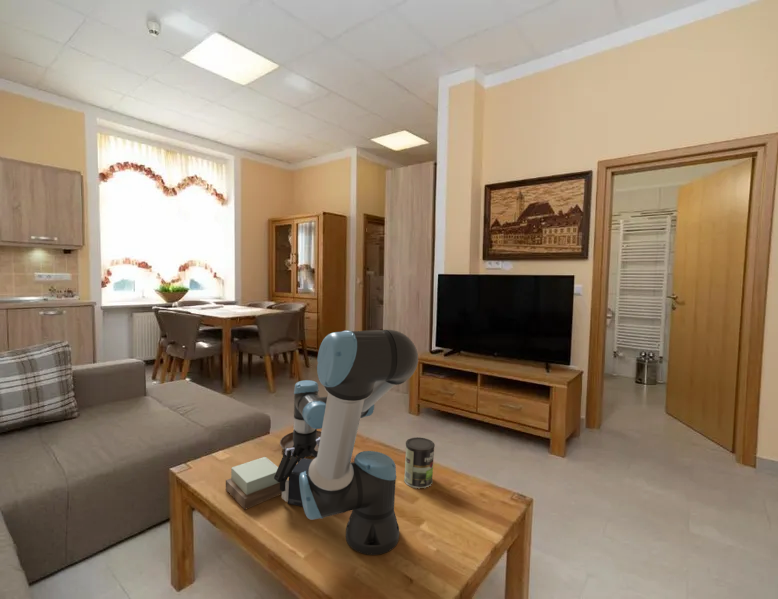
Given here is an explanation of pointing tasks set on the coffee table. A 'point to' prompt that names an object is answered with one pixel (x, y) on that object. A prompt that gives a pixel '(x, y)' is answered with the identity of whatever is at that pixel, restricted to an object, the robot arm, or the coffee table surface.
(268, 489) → the base slab
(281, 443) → the plant saucer
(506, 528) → the coffee table surface
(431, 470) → the coffee can
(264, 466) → the top slab
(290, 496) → the small box
